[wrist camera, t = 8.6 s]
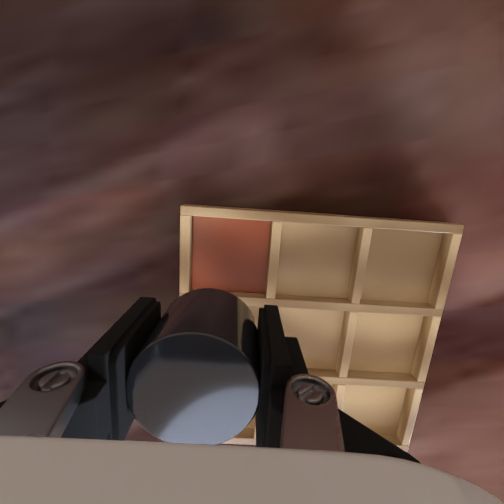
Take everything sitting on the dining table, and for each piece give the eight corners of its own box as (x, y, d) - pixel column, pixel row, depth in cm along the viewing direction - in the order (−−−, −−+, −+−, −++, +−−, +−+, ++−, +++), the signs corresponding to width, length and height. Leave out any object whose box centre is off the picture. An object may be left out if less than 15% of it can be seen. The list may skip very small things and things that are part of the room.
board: (185, 203, 24) (180, 205, 22) (449, 222, 25) (464, 224, 23) (182, 426, 29) (177, 441, 28) (398, 436, 30) (407, 452, 28)
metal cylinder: (161, 284, 11) (121, 328, 8) (261, 290, 11) (266, 336, 8) (161, 371, 12) (126, 446, 8) (254, 376, 12) (256, 452, 9)
